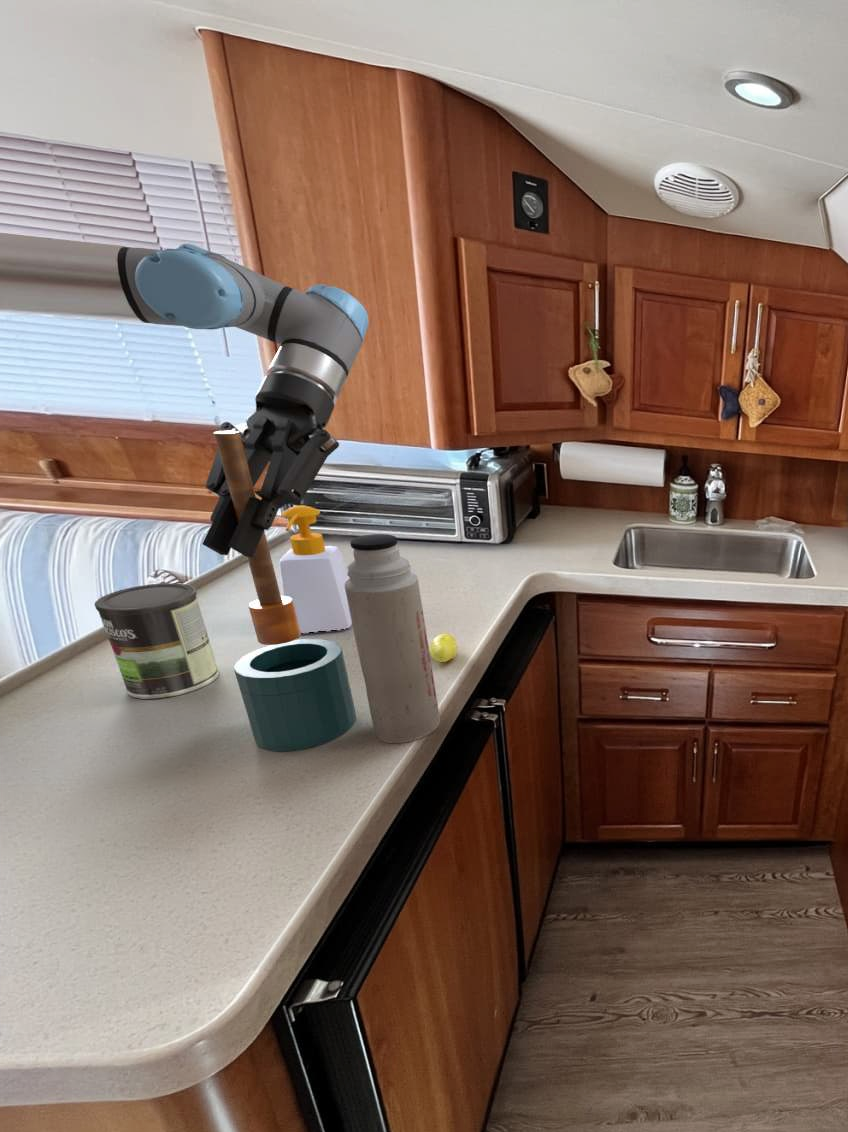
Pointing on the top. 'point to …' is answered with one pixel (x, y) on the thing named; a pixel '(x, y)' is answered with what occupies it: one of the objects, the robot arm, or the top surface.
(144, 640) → the coffee can
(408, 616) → the thermos bottle
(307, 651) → the teal ring pot
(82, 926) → the top surface
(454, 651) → the lemon
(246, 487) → the wooden peg with base
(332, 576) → the soap bottle
